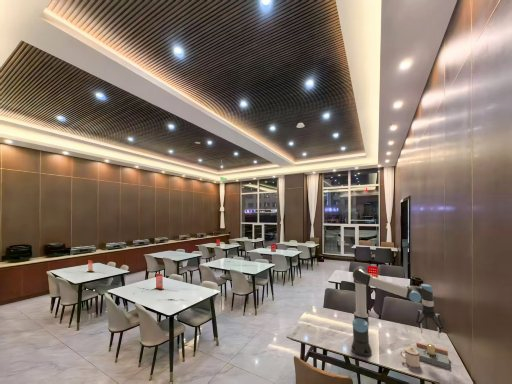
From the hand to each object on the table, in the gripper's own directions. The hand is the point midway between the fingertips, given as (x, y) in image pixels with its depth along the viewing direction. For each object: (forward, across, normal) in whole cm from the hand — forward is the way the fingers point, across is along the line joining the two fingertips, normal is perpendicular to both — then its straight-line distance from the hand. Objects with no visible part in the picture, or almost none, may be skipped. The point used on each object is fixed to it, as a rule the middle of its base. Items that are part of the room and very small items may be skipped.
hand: (430, 334), depth 180 cm
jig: (+18, 0, 0) cm, 18 cm away
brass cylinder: (+18, 0, 0) cm, 18 cm away
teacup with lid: (+18, -13, -16) cm, 27 cm away
